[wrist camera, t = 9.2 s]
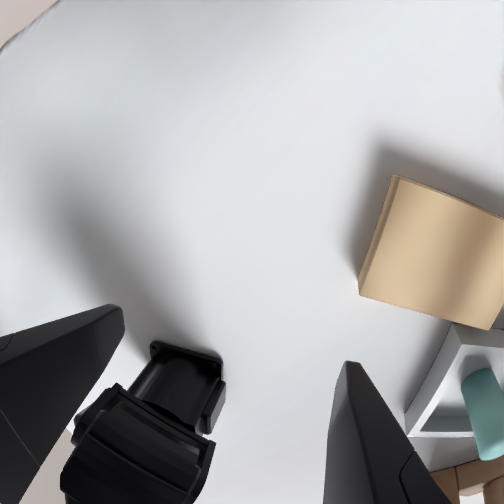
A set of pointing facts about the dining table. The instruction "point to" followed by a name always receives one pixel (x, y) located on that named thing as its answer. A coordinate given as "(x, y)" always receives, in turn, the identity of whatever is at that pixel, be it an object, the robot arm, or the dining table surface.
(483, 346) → the tray
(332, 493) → the robot arm
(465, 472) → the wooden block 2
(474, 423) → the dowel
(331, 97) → the dining table surface
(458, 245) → the board
